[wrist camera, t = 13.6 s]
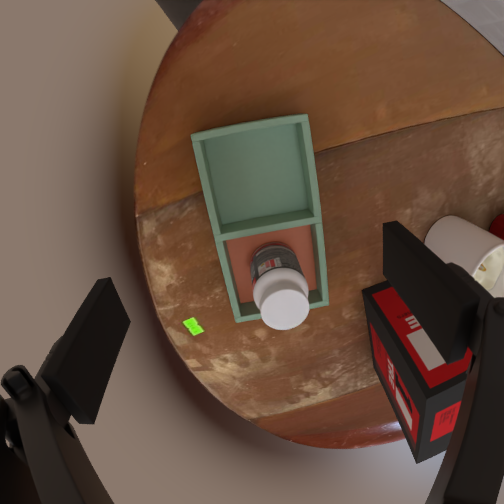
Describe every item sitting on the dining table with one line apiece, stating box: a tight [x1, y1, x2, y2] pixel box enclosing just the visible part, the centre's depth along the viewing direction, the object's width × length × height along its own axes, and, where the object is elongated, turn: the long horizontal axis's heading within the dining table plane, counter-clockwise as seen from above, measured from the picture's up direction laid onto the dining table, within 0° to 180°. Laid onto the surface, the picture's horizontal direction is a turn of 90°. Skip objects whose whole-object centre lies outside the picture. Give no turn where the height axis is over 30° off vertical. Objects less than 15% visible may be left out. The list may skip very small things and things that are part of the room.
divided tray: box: [191, 114, 329, 323], centre depth 36 cm, size 22×12×4 cm, turn 10°
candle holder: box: [424, 215, 504, 298], centre depth 35 cm, size 10×10×12 cm
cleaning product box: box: [362, 280, 473, 464], centre depth 36 cm, size 16×9×20 cm, turn 19°
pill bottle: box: [250, 242, 309, 330], centre depth 34 cm, size 6×6×10 cm
